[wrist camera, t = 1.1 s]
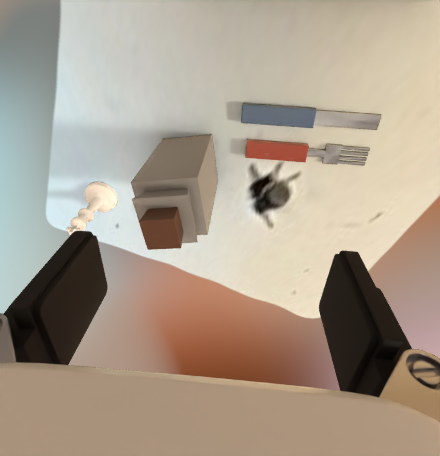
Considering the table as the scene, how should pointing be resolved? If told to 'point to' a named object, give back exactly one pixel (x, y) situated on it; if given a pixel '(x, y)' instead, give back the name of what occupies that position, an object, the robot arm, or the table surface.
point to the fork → (302, 152)
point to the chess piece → (94, 205)
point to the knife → (306, 117)
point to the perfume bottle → (176, 191)
